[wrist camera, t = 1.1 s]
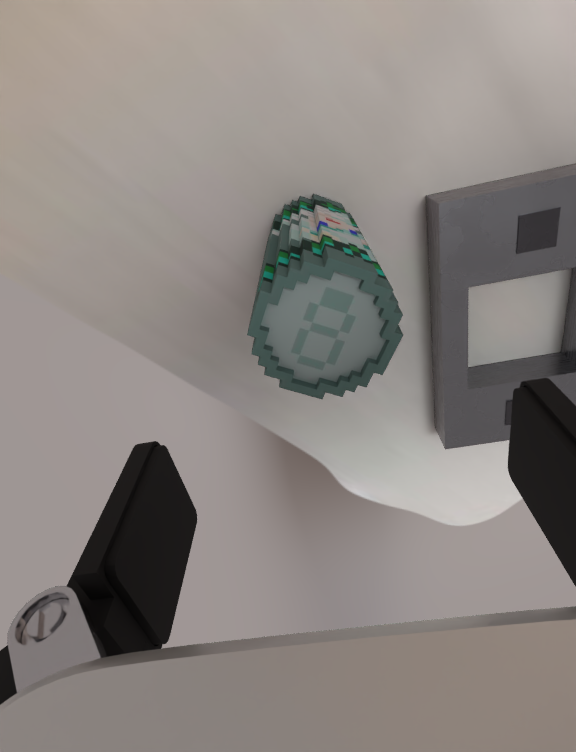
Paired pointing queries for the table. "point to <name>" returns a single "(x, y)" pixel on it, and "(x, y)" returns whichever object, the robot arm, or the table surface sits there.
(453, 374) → the rail plate
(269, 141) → the table surface
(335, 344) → the can
